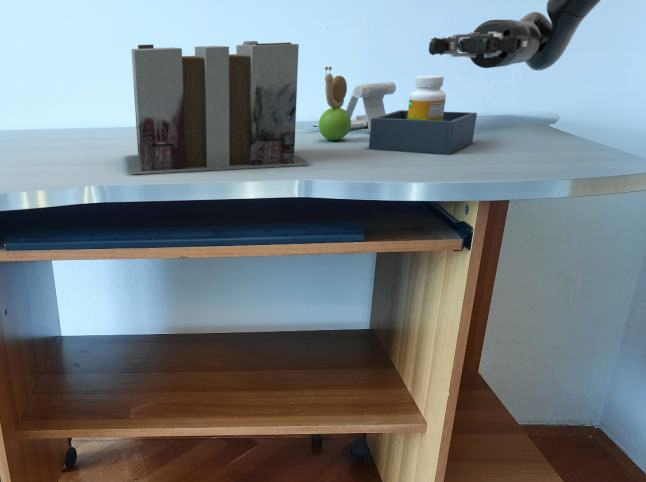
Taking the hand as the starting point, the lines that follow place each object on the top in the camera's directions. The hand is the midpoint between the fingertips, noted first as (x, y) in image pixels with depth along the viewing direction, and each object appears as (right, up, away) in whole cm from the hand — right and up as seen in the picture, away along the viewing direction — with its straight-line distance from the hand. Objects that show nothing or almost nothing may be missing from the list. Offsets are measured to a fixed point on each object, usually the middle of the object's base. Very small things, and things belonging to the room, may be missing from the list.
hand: (457, 46), depth 102 cm
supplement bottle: (-5, -15, +1) cm, 16 cm away
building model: (-39, -20, -5) cm, 44 cm away
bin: (-5, -15, +1) cm, 16 cm away
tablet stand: (-10, -7, +19) cm, 23 cm away
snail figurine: (-18, -12, +9) cm, 24 cm away
